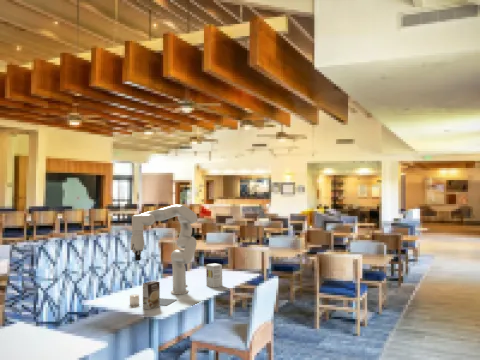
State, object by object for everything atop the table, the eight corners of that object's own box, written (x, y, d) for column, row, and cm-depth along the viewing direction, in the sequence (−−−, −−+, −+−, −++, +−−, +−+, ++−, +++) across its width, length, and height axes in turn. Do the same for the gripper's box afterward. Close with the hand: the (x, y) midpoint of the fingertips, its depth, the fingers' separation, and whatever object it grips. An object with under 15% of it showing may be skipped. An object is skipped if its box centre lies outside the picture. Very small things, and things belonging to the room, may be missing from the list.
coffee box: (148, 309, 260) (148, 284, 260) (142, 308, 264) (142, 283, 264) (160, 306, 267) (159, 281, 267) (153, 305, 271) (153, 280, 271)
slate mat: (156, 298, 287) (156, 298, 287) (177, 300, 282) (177, 299, 282) (145, 304, 273) (145, 303, 273) (166, 305, 268) (166, 305, 268)
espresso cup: (133, 303, 277) (133, 294, 277) (140, 303, 275) (140, 294, 275) (128, 305, 271) (127, 296, 272) (135, 306, 269) (135, 296, 270)
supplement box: (206, 285, 322) (205, 264, 323) (215, 283, 329) (214, 262, 329) (213, 287, 315) (213, 265, 316) (222, 285, 321) (222, 264, 322)
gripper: (139, 232, 285) (139, 258, 284) (126, 234, 271) (126, 261, 270) (148, 232, 282) (148, 258, 282) (135, 234, 268) (136, 262, 268)
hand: (137, 260), depth 276 cm, fingers closed
